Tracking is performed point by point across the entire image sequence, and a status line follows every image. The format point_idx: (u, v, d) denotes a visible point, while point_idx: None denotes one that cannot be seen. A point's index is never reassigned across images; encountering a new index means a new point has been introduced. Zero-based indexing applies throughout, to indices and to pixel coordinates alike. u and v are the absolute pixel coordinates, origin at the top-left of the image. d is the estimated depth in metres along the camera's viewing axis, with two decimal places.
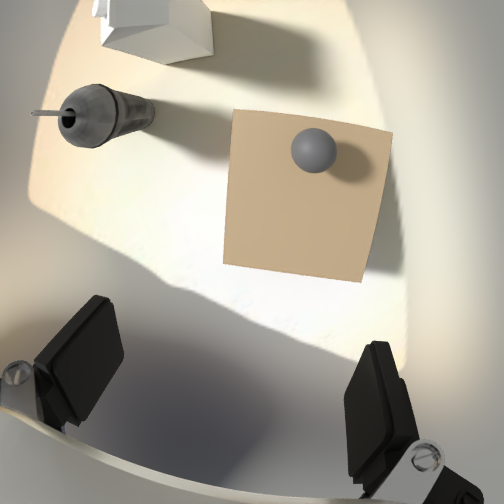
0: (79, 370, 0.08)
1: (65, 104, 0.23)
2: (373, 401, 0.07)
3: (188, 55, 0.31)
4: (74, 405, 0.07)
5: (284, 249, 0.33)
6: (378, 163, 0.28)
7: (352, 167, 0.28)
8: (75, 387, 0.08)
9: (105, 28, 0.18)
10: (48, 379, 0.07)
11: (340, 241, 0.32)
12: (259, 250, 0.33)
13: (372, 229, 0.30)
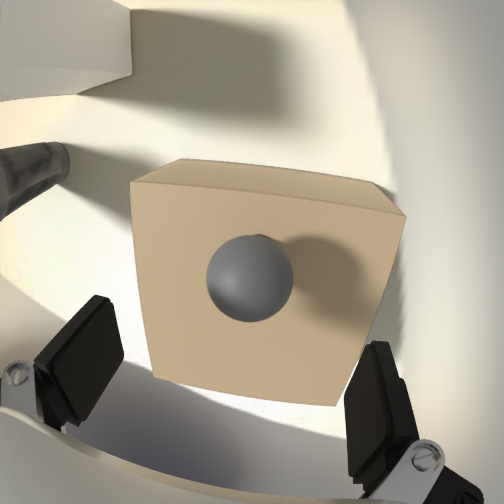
0: (79, 370, 0.08)
1: None
2: (373, 401, 0.07)
3: (94, 81, 0.20)
4: (74, 405, 0.07)
5: (228, 373, 0.22)
6: (375, 268, 0.17)
7: (330, 276, 0.17)
8: (75, 387, 0.08)
9: None
10: (48, 379, 0.07)
11: (307, 368, 0.21)
12: (195, 370, 0.23)
13: (356, 354, 0.20)
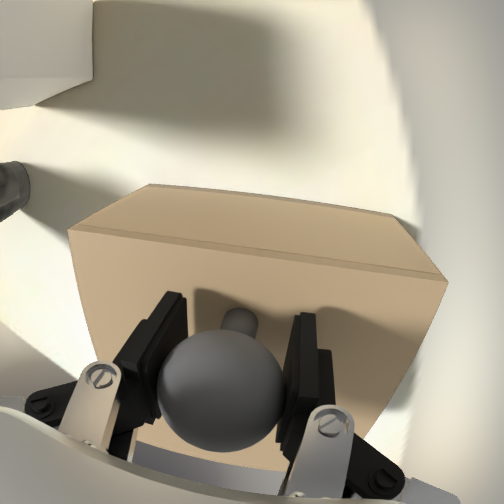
0: None
1: None
2: (290, 365, 0.09)
3: (46, 90, 0.15)
4: (155, 403, 0.08)
5: None
6: (398, 347, 0.12)
7: (338, 358, 0.12)
8: None
9: None
10: (134, 378, 0.08)
11: None
12: (172, 438, 0.17)
13: (363, 432, 0.14)
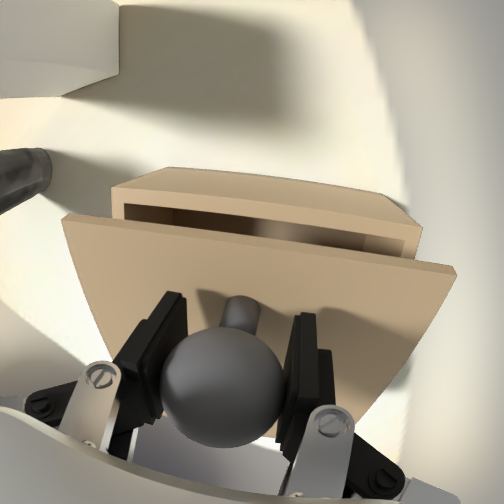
0: (161, 366, 0.09)
1: None
2: (290, 365, 0.09)
3: (77, 81, 0.17)
4: (155, 403, 0.08)
5: None
6: (402, 334, 0.11)
7: (341, 343, 0.12)
8: (157, 384, 0.08)
9: None
10: (134, 378, 0.08)
11: None
12: None
13: (365, 407, 0.15)
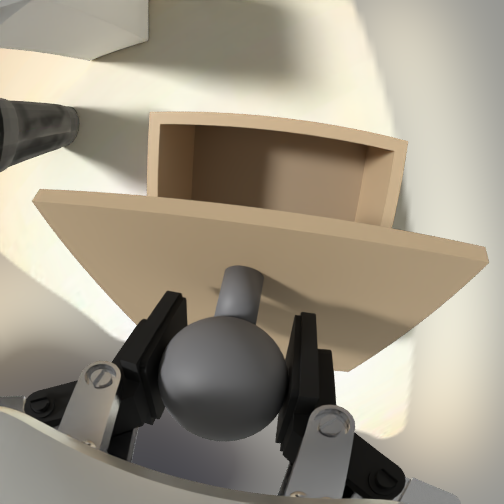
0: None
1: None
2: (291, 365, 0.09)
3: (112, 43, 0.20)
4: (154, 403, 0.08)
5: None
6: (419, 304, 0.10)
7: (353, 306, 0.11)
8: (157, 384, 0.08)
9: None
10: (134, 378, 0.08)
11: None
12: None
13: (376, 351, 0.16)
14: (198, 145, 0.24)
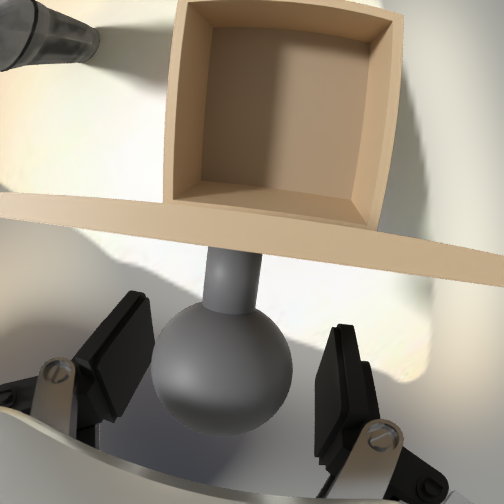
0: (119, 365, 0.08)
1: None
2: (334, 380, 0.08)
3: None
4: (113, 401, 0.08)
5: None
6: None
7: None
8: (114, 382, 0.08)
9: None
10: (89, 375, 0.07)
11: None
12: None
13: None
14: (215, 43, 0.23)
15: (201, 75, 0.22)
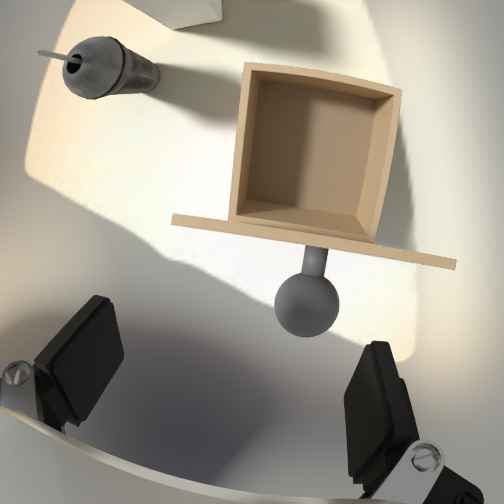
0: (79, 370, 0.08)
1: (72, 51, 0.20)
2: (373, 401, 0.07)
3: (197, 19, 0.28)
4: (74, 405, 0.07)
5: None
6: None
7: None
8: (75, 387, 0.08)
9: None
10: (48, 379, 0.07)
11: None
12: None
13: None
14: (261, 94, 0.33)
15: (252, 121, 0.33)
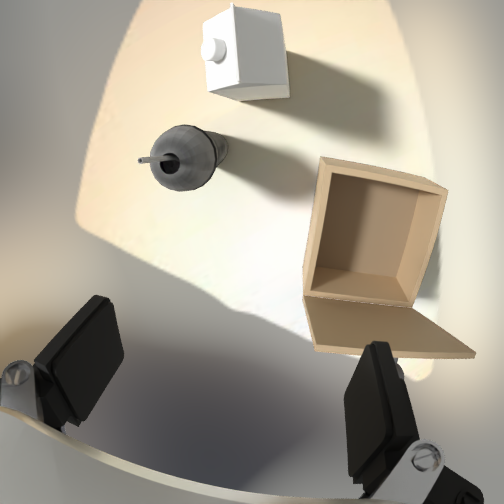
0: (79, 370, 0.08)
1: (163, 147, 0.27)
2: (373, 401, 0.07)
3: (268, 97, 0.35)
4: (74, 405, 0.07)
5: None
6: None
7: None
8: (75, 387, 0.08)
9: (217, 75, 0.22)
10: (48, 379, 0.07)
11: None
12: None
13: None
14: None
15: None
